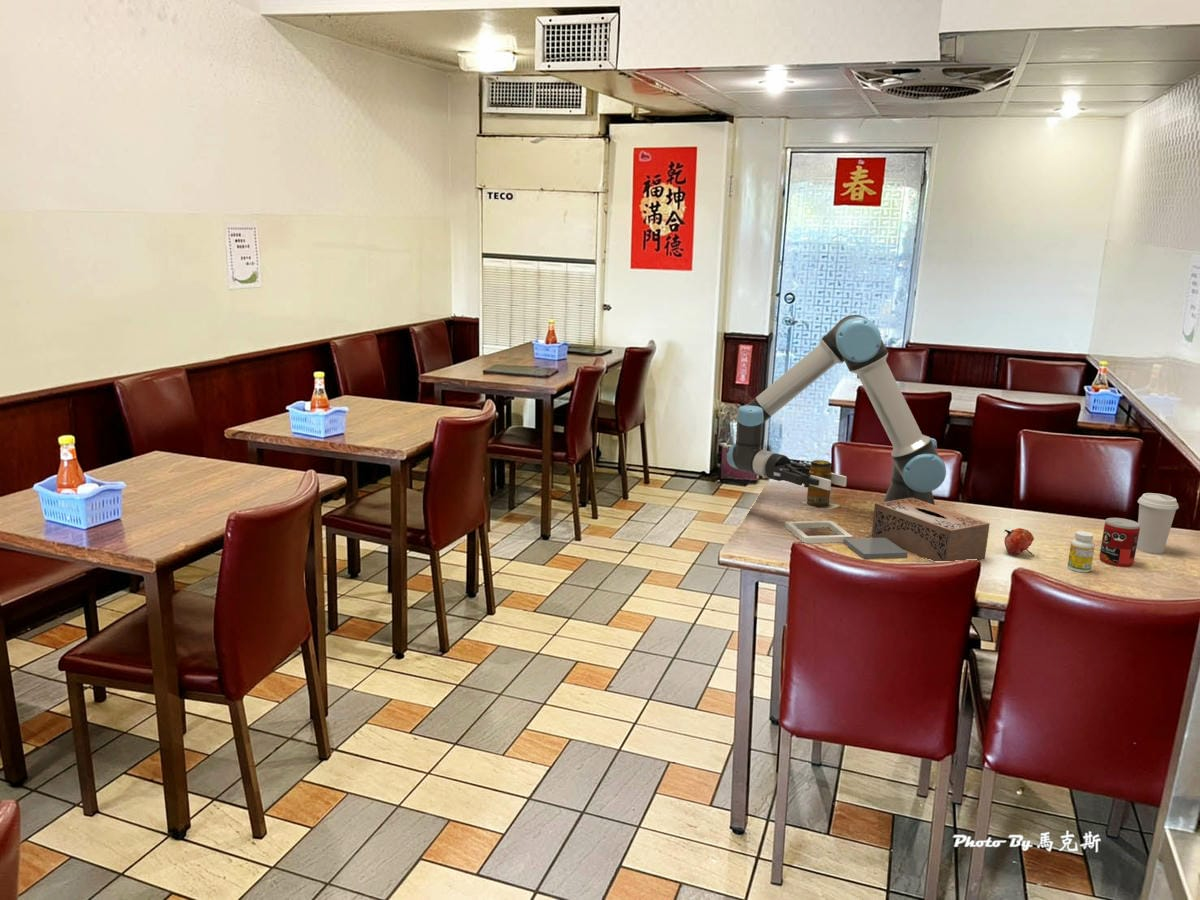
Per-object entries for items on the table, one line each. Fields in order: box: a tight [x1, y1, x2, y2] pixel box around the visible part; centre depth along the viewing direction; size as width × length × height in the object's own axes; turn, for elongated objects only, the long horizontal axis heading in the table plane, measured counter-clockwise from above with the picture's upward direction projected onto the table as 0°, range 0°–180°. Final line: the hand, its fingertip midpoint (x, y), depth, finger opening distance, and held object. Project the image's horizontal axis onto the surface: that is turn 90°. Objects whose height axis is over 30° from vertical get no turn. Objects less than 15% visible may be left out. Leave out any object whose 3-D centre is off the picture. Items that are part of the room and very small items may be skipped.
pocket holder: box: [784, 520, 854, 544], centre depth 251 cm, size 14×14×2 cm
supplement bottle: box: [1067, 530, 1096, 574], centre depth 230 cm, size 5×5×10 cm
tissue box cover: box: [871, 498, 990, 561], centre depth 242 cm, size 26×14×10 cm, turn 29°
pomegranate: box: [1003, 527, 1035, 557], centre depth 240 cm, size 7×7×10 cm
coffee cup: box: [1136, 492, 1180, 555], centre depth 246 cm, size 10×10×15 cm
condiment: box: [799, 459, 841, 510], centre depth 248 cm, size 7×8×12 cm
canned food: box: [1099, 517, 1140, 568], centre depth 236 cm, size 8×8×11 cm
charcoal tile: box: [843, 537, 908, 560], centre depth 239 cm, size 12×12×1 cm
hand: (837, 483), depth 244 cm, fingers closed on condiment, 6 cm apart
